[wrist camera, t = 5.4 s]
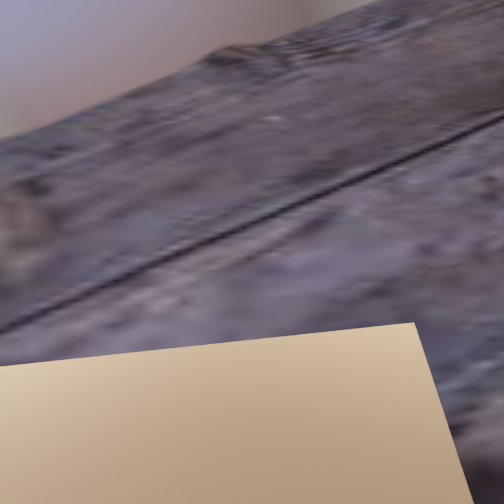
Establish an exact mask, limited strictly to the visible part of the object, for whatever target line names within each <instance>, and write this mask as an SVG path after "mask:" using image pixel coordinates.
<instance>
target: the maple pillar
mask: <svg viewBox="0 0 504 504" xmlns="http://www.w3.org/2000/svg"><path fill="white" fill-rule="evenodd" d="M0 504H474V503H473V500H472V497H471V494H470V491H469V488H468V485H467V482H466V479H465V476H464V473H463V469H462V466H461V463H460V460H459V457H458V454H457V451H456V448H455V445H454V442H453V439H452V436H451V433H450V430H449V427H448V424H447V421H446V418H445V415H444V412H443V409H442V406H441V403H440V400H439V397H438V394H437V391H436V388H435V385H434V381H433V378H432V375H431V372H430V369H429V366H428V363H427V360H426V357H425V354H424V351H423V348H422V345H421V342H420V339H419V336H418V333H417V330H416V327H415V324H414V323H405V324H396V325H386V326H377V327H368V328H358V329H349V330H339V331H330V332H321V333H311V334H302V335H293V336H283V337H274V338H265V339H255V340H246V341H237V342H227V343H218V344H209V345H199V346H190V347H181V348H171V349H162V350H152V351H143V352H134V353H124V354H115V355H106V356H96V357H87V358H78V359H68V360H59V361H50V362H40V363H31V364H22V365H12V366H3V367H0Z"/></svg>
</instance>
